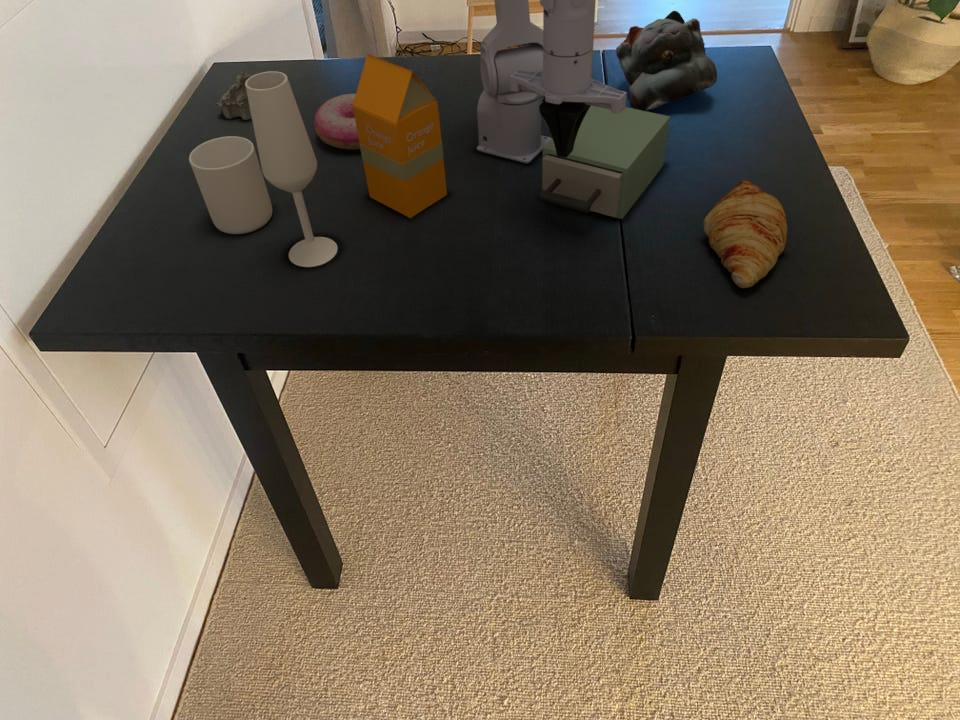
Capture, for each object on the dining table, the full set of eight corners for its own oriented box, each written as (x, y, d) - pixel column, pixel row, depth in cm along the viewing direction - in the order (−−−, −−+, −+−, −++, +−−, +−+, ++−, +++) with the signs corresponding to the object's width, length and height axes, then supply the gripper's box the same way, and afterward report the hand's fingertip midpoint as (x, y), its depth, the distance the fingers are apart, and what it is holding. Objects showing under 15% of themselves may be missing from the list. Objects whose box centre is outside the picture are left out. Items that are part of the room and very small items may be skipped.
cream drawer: (600, 237, 97) (603, 197, 92) (525, 215, 101) (524, 176, 97) (654, 166, 108) (659, 128, 103) (585, 149, 112) (587, 111, 108)
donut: (377, 161, 115) (372, 131, 111) (302, 151, 118) (295, 122, 115) (410, 120, 124) (406, 91, 120) (339, 111, 127) (333, 84, 124)
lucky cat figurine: (627, 117, 120) (608, 28, 115) (629, 112, 131) (613, 30, 126) (722, 91, 115) (706, -3, 111) (716, 88, 126) (702, 2, 122)
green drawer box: (622, 219, 100) (627, 168, 95) (542, 197, 105) (542, 147, 100) (663, 165, 109) (670, 116, 104) (587, 147, 114) (590, 99, 109)
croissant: (761, 319, 90) (809, 278, 84) (693, 283, 88) (737, 239, 82) (755, 217, 104) (796, 176, 98) (696, 184, 102) (734, 140, 96)
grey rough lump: (249, 91, 135) (242, 69, 132) (284, 95, 133) (278, 73, 130) (216, 118, 128) (208, 95, 125) (253, 123, 126) (246, 100, 123)
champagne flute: (344, 239, 101) (305, 68, 84) (327, 269, 96) (281, 96, 79) (299, 234, 102) (251, 66, 85) (280, 264, 98) (225, 92, 81)
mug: (287, 189, 111) (269, 123, 103) (263, 236, 102) (241, 169, 95) (233, 188, 112) (210, 123, 104) (205, 236, 103) (178, 169, 96)
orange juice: (409, 218, 103) (389, 82, 89) (368, 197, 108) (343, 63, 94) (448, 194, 107) (434, 59, 93) (407, 174, 112) (388, 42, 97)
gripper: (496, 49, 84) (500, 154, 94) (612, 72, 79) (604, 181, 89) (525, 26, 89) (526, 130, 98) (637, 46, 83) (627, 154, 93)
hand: (564, 153), depth 94 cm, fingers closed
